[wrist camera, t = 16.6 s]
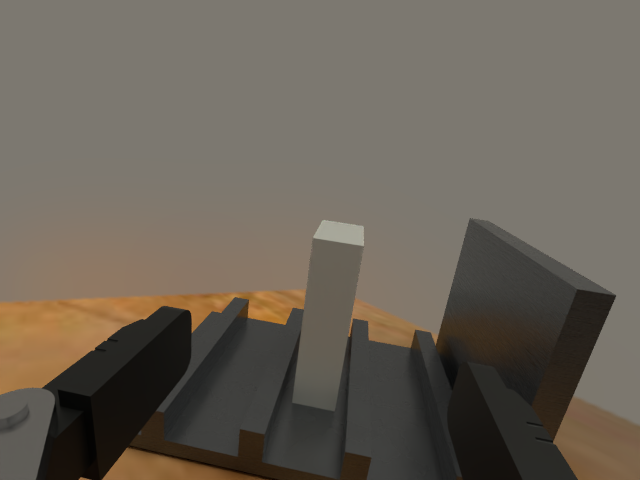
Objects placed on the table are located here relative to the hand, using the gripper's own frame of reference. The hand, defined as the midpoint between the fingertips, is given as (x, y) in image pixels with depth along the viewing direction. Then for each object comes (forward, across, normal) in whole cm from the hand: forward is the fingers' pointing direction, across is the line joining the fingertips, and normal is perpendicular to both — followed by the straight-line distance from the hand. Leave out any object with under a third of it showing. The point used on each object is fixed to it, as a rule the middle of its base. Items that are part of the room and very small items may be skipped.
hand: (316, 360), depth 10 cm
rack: (+12, 0, +12) cm, 17 cm away
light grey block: (+12, 0, +11) cm, 17 cm away
